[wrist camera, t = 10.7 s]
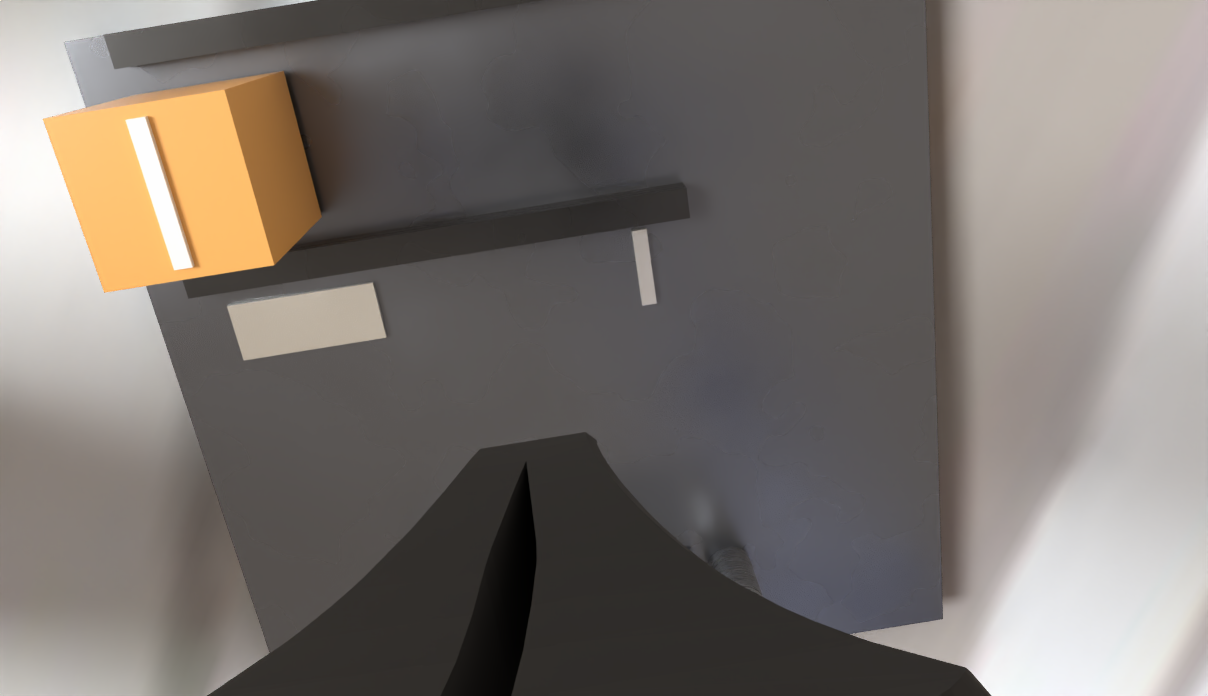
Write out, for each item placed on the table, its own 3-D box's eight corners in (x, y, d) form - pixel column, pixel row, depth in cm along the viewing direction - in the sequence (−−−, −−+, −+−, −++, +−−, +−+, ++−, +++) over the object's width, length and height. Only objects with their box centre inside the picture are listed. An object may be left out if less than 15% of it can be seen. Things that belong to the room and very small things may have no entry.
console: (927, 594, 24) (1018, 739, 20) (303, 694, 24) (244, 862, 20) (903, -93, 19) (1023, -120, 14) (88, 39, 19) (-67, 56, 14)
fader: (322, 217, 19) (272, 266, 15) (181, 239, 19) (101, 294, 16) (283, 70, 18) (222, 90, 14) (135, 95, 18) (39, 119, 15)
